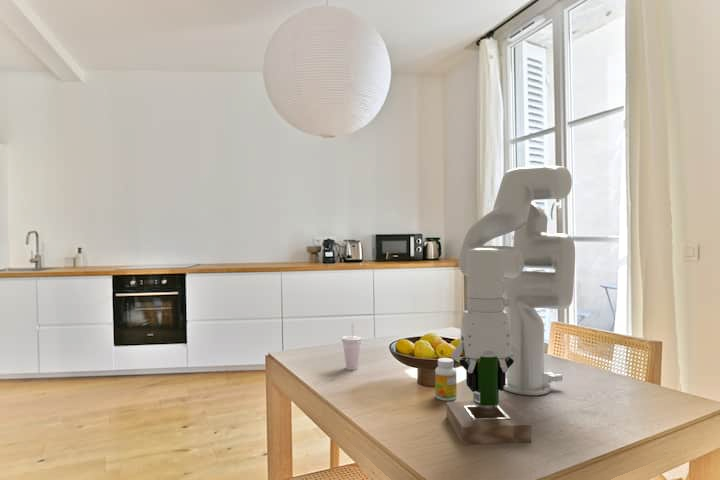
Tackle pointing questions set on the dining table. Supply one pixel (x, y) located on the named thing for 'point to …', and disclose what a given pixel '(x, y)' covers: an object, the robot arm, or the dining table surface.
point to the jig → (488, 424)
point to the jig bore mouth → (486, 418)
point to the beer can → (487, 381)
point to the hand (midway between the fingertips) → (485, 388)
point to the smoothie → (352, 350)
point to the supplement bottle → (445, 380)
